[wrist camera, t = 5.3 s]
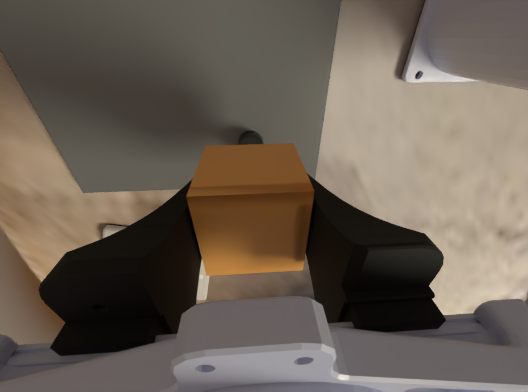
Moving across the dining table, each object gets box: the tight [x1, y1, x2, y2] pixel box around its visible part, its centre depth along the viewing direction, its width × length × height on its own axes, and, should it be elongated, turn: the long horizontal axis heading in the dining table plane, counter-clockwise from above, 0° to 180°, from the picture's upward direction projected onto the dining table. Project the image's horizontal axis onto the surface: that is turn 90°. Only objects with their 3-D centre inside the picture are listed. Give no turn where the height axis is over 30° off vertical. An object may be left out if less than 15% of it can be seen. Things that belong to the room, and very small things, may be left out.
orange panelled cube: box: [186, 143, 315, 276], centre depth 11 cm, size 5×5×4 cm
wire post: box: [238, 131, 264, 145], centre depth 16 cm, size 2×2×4 cm
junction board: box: [0, 0, 341, 193], centre depth 15 cm, size 20×16×1 cm
